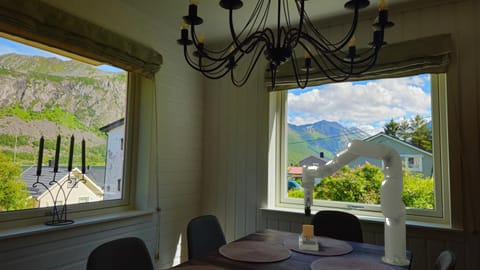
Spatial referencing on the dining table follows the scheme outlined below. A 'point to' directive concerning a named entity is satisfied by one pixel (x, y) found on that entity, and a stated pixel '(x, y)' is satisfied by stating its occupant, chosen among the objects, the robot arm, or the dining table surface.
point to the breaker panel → (308, 243)
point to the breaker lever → (308, 231)
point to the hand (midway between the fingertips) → (307, 214)
